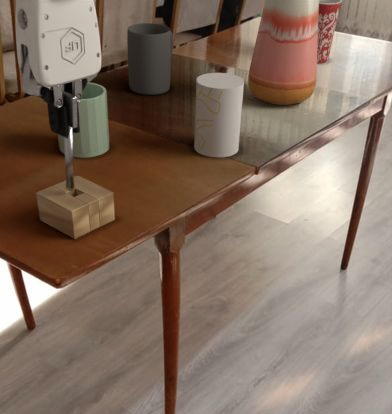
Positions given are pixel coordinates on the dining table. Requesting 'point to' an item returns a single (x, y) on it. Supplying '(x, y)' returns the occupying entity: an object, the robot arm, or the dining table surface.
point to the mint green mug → (91, 124)
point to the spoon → (70, 138)
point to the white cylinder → (218, 114)
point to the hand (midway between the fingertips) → (65, 131)
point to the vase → (285, 52)
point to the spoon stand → (76, 207)
